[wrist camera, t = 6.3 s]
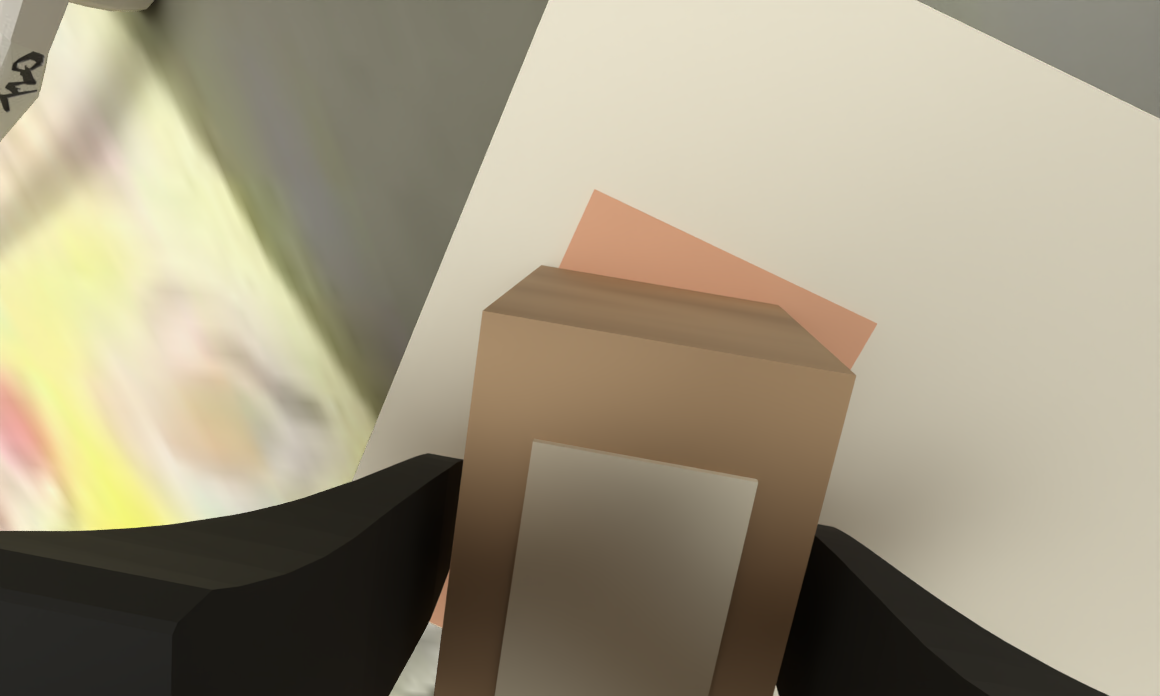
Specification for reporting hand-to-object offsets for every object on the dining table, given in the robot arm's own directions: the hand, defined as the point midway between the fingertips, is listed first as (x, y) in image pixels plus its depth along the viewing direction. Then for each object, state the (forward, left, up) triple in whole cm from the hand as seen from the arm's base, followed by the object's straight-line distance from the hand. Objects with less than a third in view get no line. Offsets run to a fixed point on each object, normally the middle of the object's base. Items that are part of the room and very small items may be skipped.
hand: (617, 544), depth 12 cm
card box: (0, 0, -3) cm, 3 cm away
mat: (-3, -2, -3) cm, 5 cm away
